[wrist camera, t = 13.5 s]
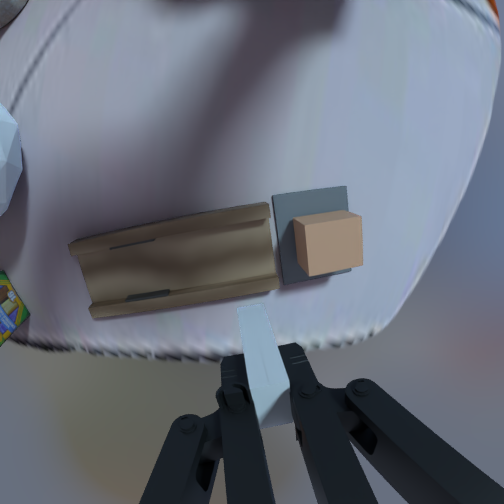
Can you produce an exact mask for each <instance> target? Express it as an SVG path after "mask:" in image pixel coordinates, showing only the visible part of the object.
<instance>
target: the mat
mask: <svg viewBox="0 0 504 504" xmlns="http://www.w3.org/2000/svg"><path fill="white" fill-rule="evenodd" d="M272 196H273V203H274V210H275V218H276V225H277V233H278V241H279V249H280V257H281V265H282V274H283V282H284V285H286V284H291V283H296V282H301V281H306V280H311V279H316V278H321V277H325V276H330V275H335V274H339V273H344V272H348V271H351V268H348V269H343V270H339V271H334V272H329V273H325V274H320V275H315V276H310V277H309V276H308V275H307V273H306V272H305V271H304V270H303V269H302V267H301V266H300V265H299V264H298V262H297V252H296V242H295V233H294V224H293V218H294V217H300V216H306V215H313V214H319V213H326V212H333V211H339V210H345V211H348V198H347V187H346V186H340V187H332V188H324V189H316V190H308V191H300V192H293V193H286V194H279V195H272ZM348 212H349V211H348Z"/></svg>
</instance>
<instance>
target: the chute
mask: <svg viewBox="0 0 504 504" xmlns="http://www.w3.org/2000/svg"><path fill="white" fill-rule="evenodd" d="M269 218H271V216H270V209H269V204H268V203H266V202H261V203H255V204H248V205H242V206H236V207H231V208H225V209H219V210H213V211H208V212H202V213H197V214H192V215H187V216H181V217H176V218H171V219H166V220H161V221H156V222H152V223H147V224H142V225H137V226H133V227H128V228H124V229H119V230H115V231H110V232H106V233H102V234H98V235H93V236H89V237H85V238H81V239H77V240H75V241H73V242H71V243H70V244H68V247H69V251H70V254H71V256H74V255H77V256H78V259H79V263H80V266H81V269H82V273H83V276H84V279H85V282H86V285H87V288H88V291H89V294H90V297H91V299H92V302H93V303H92V304H91V305H90V307H89V311H90V314H91V316H92V318H99V317H107V316H115V315H122V314H130V313H137V312H144V311H151V310H158V309H165V308H171V307H178V306H184V305H190V304H197V303H203V302H209V301H215V300H220V299H226V298H232V297H237V296H243V295H248V294H254V293H259V292H264V291H270V290H275V289H280V286H279V277H278V275H277V274H276V270H275V262H274V255H273V247H272V240H271V232H270V225H269Z"/></svg>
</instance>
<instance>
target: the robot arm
mask: <svg viewBox="0 0 504 504" xmlns="http://www.w3.org/2000/svg"><path fill="white" fill-rule="evenodd" d="M237 312H238V318H239V325H240V332H241V338H242V345H243V351H244V354H238V355H232V356H226V357H224V358H223V360H222V362H221V383H222V384H221V385H222V386H221V387H220V388H219V389H218V390H217V392H216V399H217V402H218V404H219V407H220V408H219V409H218V410H217V411H216V412H214V413H213V414H210V415H208V416H206V417H203V418H200V417H199V416H197V415H193V414H186V415H183V416H180V417H179V418H177V419H176V420H175V421H174V422H173V423H172V425H171V428H170V430H169V432H168V435H167V437H166V440H165V442H164V444H163V447H162V449H161V452H160V454H159V457H158V459H157V461H156V464H155V466H154V469H153V471H152V473H151V476H150V478H149V481H148V483H147V486H146V488H145V490H144V493H143V495H142V498H141V500H140V503H139V504H209V501H210V497H211V493H212V489H213V485H214V481H215V477H216V473H217V469H218V464H219V461H220V458H223V460H224V472H225V483H226V495H227V504H276V503H275V499H274V494H273V489H272V484H271V480H270V475H269V470H268V465H267V460H266V455H265V450H264V446H263V440H262V436H261V432H260V429H263V428H268V427H273V426H278V425H283V424H288V423H292V422H293V420H294V423H295V429H296V440H298V441H299V444H300V447H301V451H302V454H303V457H304V461H305V464H306V467H307V470H308V473H309V476H310V480H311V483H312V486H313V489H314V492H315V496H316V499H317V502H318V504H378V502H377V500H376V497H375V495H374V493H373V491H372V489H371V487H370V485H369V482H368V480H367V478H366V476H365V474H364V471H363V469H362V467H361V465H360V463H359V460H358V458H357V456H356V454H355V452H354V450H353V447H352V445H351V443H350V441H351V442H352V444H353V445H354V446H355V447H356V448H357V449H358V450H359V451H360V453H362V455H363V456H364V457H365V458H366V459H367V460H368V461H369V462H370V464H371V465H372V466H373V467H374V468H375V469H376V470H377V471H378V472H379V473H380V474H381V475H382V476H383V477H384V479H385V480H386V481H387V482H388V483H389V484H390V485H391V486H392V487H393V488H394V489H395V490H396V491H397V492H398V493H399V494H400V495H401V496H402V497H403V498H404V499H405V500H406V501H407V502H408V503H409V504H504V488H503V487H501V486H500V485H499V484H498V483H496V482H495V481H494V480H492V479H491V478H490V477H489V476H487V475H486V474H485V473H484V472H482V471H481V470H480V469H479V468H477V467H476V466H475V465H474V464H472V463H471V462H470V461H469V460H467V459H466V458H465V457H464V456H462V455H461V454H460V453H459V452H457V451H456V450H455V449H454V448H452V447H451V446H450V445H449V444H448V443H446V442H445V441H444V440H443V439H441V438H440V437H439V436H438V435H437V434H435V433H434V432H433V431H432V430H431V429H429V428H428V427H427V426H426V425H424V424H423V423H422V422H421V421H420V420H418V419H417V418H416V417H415V416H414V415H412V414H411V413H410V412H409V411H408V410H407V409H405V408H404V407H403V406H401V404H399V403H398V402H397V401H396V400H395V399H393V398H392V397H391V396H390V395H389V394H387V393H386V392H385V391H384V390H383V389H382V388H380V387H379V386H378V385H377V384H376V383H375V382H373V381H371V380H369V379H364V378H361V379H356V380H353V381H351V382H350V383H349V384H348V385H347V387H346V388H337V389H334V388H327V387H325V386H323V385H322V384H320V383H319V382H318V381H317V379H316V377H315V375H314V372H313V370H312V368H311V366H310V363H309V361H308V359H307V357H306V355H305V353H304V350H303V348H302V347H301V346H300V345H298V344H297V343H290V344H286V345H281V346H277V343H276V340H275V337H274V334H273V331H272V328H271V325H270V322H269V319H268V316H267V314H266V311H265V308H264V305H263V303H261V304H256V305H250V306H245V307H239V308H237ZM349 440H350V441H349Z"/></svg>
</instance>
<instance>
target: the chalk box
mask: <svg viewBox="0 0 504 504" xmlns="http://www.w3.org/2000/svg"><path fill="white" fill-rule="evenodd" d="M29 316H30V313H29V312H28V310H27V309H26V307H25V306H24V304H23V303H22V301H21V299H20V298H19V296H18V295H17V293H16V291H15V290H14V288H13V287H12V285H11V283H10V282H9V280H8V278H7V276H6V275H5V273H4V271H3V270H2V271H0V347H1V345H2V344H3V343H4V342H5V341H6V340H7V339H8V338H9V337H10V335H11V334H12V333H13V332H14V331H15V330H16V329H17V328H18V327H19V326H20V325H21V324H22V323H23V322H24V321H25V320H26V319H27V318H28V317H29Z"/></svg>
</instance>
